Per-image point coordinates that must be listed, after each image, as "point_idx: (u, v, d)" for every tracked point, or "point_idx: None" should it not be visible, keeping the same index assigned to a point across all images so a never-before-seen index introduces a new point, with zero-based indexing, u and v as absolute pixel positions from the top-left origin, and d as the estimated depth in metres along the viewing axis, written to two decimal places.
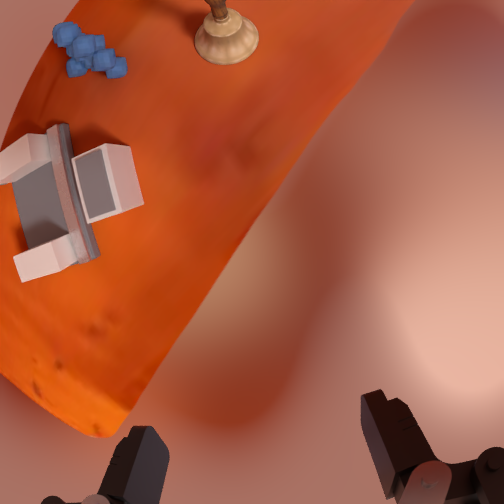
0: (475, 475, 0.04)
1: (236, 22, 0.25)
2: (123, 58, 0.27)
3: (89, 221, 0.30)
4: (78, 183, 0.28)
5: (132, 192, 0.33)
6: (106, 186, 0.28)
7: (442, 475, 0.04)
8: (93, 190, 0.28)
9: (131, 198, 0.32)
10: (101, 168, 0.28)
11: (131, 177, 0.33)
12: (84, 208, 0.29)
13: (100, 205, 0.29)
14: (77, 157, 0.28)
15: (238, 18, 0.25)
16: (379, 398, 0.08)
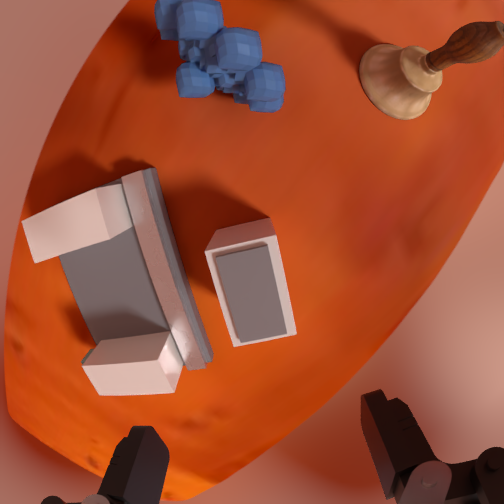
0: (475, 475, 0.04)
1: (440, 76, 0.17)
2: None
3: (237, 343, 0.22)
4: (219, 291, 0.21)
5: None
6: (277, 302, 0.21)
7: (442, 475, 0.04)
8: (251, 306, 0.21)
9: None
10: (270, 276, 0.20)
11: None
12: (229, 327, 0.22)
13: (263, 326, 0.21)
14: (217, 250, 0.20)
15: (440, 70, 0.17)
16: (379, 398, 0.08)
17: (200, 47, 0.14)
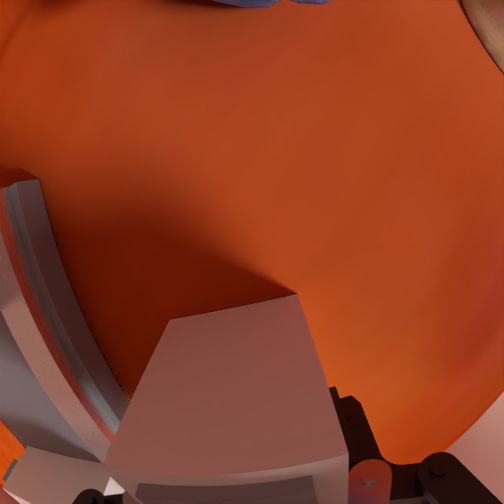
0: (420, 483, 0.05)
1: None
2: None
3: None
4: None
5: None
6: None
7: (382, 474, 0.05)
8: None
9: None
10: None
11: None
12: None
13: None
14: (139, 476, 0.04)
15: None
16: (331, 395, 0.09)
17: None
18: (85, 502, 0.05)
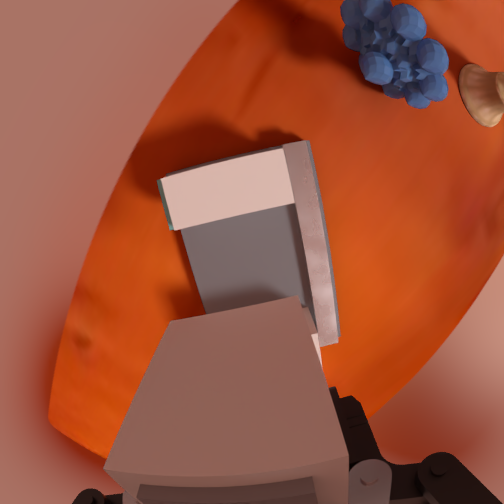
0: (420, 483, 0.05)
1: None
2: None
3: None
4: None
5: None
6: None
7: (382, 475, 0.05)
8: None
9: None
10: None
11: None
12: None
13: None
14: (141, 478, 0.04)
15: None
16: (331, 395, 0.09)
17: (403, 45, 0.15)
18: (85, 502, 0.05)
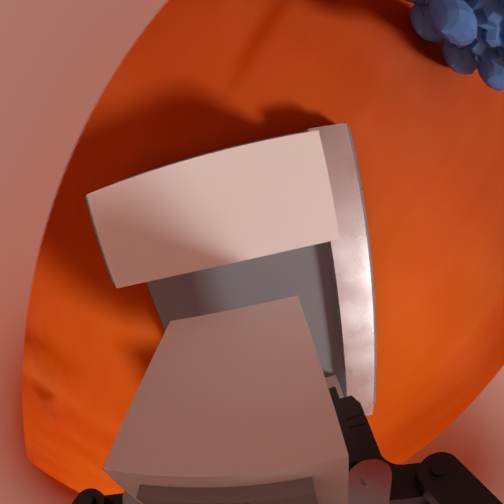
0: (420, 483, 0.05)
1: None
2: None
3: None
4: None
5: None
6: None
7: (382, 474, 0.05)
8: None
9: None
10: None
11: None
12: None
13: None
14: (140, 478, 0.04)
15: None
16: (331, 395, 0.09)
17: None
18: (85, 502, 0.05)
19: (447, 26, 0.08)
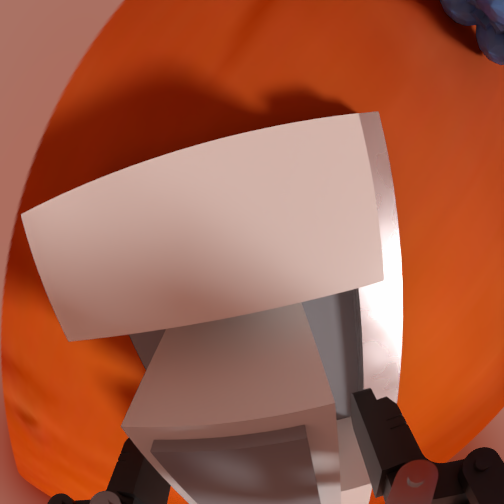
0: (463, 476, 0.04)
1: None
2: None
3: None
4: (178, 486, 0.06)
5: None
6: None
7: (429, 474, 0.05)
8: None
9: None
10: (303, 481, 0.06)
11: None
12: None
13: None
14: (155, 432, 0.06)
15: None
16: (368, 397, 0.08)
17: None
18: None
19: (497, 0, 0.04)
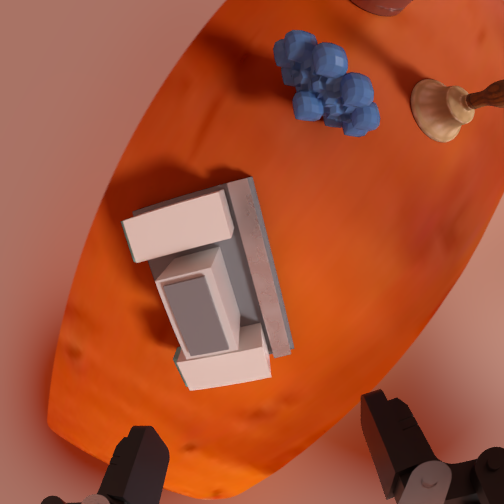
0: (475, 475, 0.04)
1: (473, 110, 0.22)
2: None
3: (189, 356, 0.25)
4: (169, 313, 0.24)
5: (234, 312, 0.29)
6: (216, 323, 0.24)
7: (442, 475, 0.04)
8: (196, 326, 0.24)
9: (236, 321, 0.28)
10: (208, 301, 0.24)
11: (229, 292, 0.29)
12: (181, 342, 0.25)
13: (207, 343, 0.25)
14: (165, 280, 0.23)
15: None
16: (379, 398, 0.08)
17: (326, 83, 0.19)
18: None
19: (298, 115, 0.22)
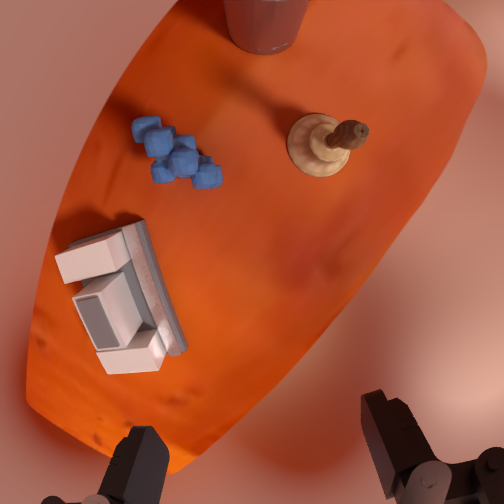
0: (475, 475, 0.04)
1: None
2: (219, 167, 0.32)
3: (98, 349, 0.34)
4: (82, 319, 0.32)
5: (131, 320, 0.37)
6: (108, 328, 0.32)
7: (442, 475, 0.04)
8: (97, 329, 0.32)
9: (131, 327, 0.36)
10: (101, 313, 0.32)
11: (128, 306, 0.37)
12: (91, 339, 0.33)
13: (105, 341, 0.33)
14: (77, 298, 0.32)
15: None
16: (379, 398, 0.08)
17: (161, 159, 0.27)
18: None
19: (155, 180, 0.30)
